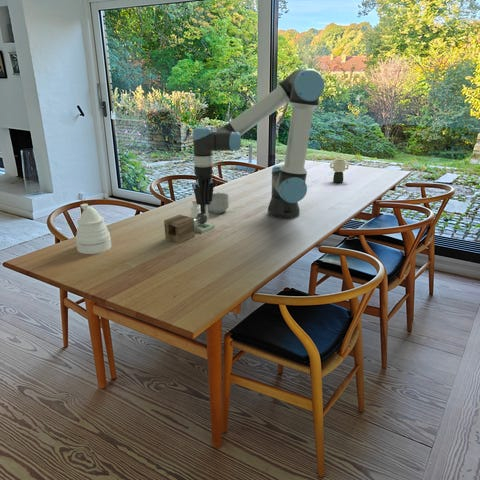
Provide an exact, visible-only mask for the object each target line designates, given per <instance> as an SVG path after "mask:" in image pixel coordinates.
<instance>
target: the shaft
mask: <svg viewBox="0 0 480 480" xmlns="http://www.w3.org/2000/svg"><path fill="white" fill-rule="evenodd" d="M207 221H208V219H207V216H206V214H205V213H199V214H198V215H197V217H195V218H194V225H196V224H199V223H200V224H204V223H208V222H207Z"/></svg>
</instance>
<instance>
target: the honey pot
mask: <svg viewBox="0 0 480 480" xmlns="http://www.w3.org/2000/svg"><path fill="white" fill-rule="evenodd" d="M80 208H81V209H82V213H81V216H80V217H79V218H78V219H77V220H76V223H77V224H78V225H77V228H76V230H77V231H76V234H75V243H76V249H77V252H78V253H80V254H83V255H84V254H85V255H94V254H101V253H104V252H107V251H108V250H110V249H111V248H112V239H111V234H110V231H109V230H108V227H107V224H106V223H105V217H104V216H102V215H100V213H99V212H98V211H97V210H96V209H95V208H94V207H92V206H89V204H88V203H83V204H80ZM106 250H107V251H106Z"/></svg>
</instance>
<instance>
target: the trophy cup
mask: <svg viewBox="0 0 480 480" xmlns="http://www.w3.org/2000/svg"><path fill="white" fill-rule="evenodd" d="M329 164H330V165H329V167H330V169H332V170H333V172H334V173H333V178H332V181H333V182H335V183H341V182H344V172H345V171H346V170H349V166H350V165H349V164H348V163H346V159H341V158H337V159H333V162H330V163H329Z"/></svg>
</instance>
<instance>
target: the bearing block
mask: <svg viewBox="0 0 480 480" xmlns="http://www.w3.org/2000/svg"><path fill="white" fill-rule="evenodd" d="M163 223H164V225H163V226H164V237H165V240H166V241H171V242H174V243H177V244H182V243H184V242H186V241H188V240H190V239H193V238H194V237H196V236H195V235H196V234H195V233H196V231H194V218H192V217H191V216H187V215H183V214H177V215H175V216H172V217H169V218H167V219H164V220H163Z"/></svg>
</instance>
